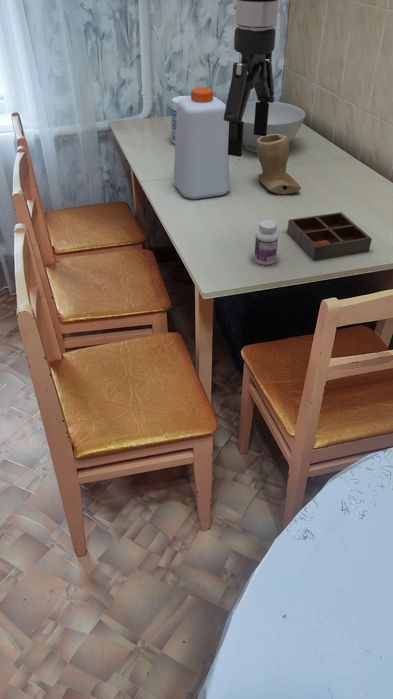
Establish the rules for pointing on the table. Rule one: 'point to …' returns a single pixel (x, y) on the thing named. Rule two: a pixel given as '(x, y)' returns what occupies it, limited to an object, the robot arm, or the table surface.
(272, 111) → the decorative bowl
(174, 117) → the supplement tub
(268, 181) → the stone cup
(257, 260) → the pill bottle
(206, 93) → the plastic bottle
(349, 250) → the grid
